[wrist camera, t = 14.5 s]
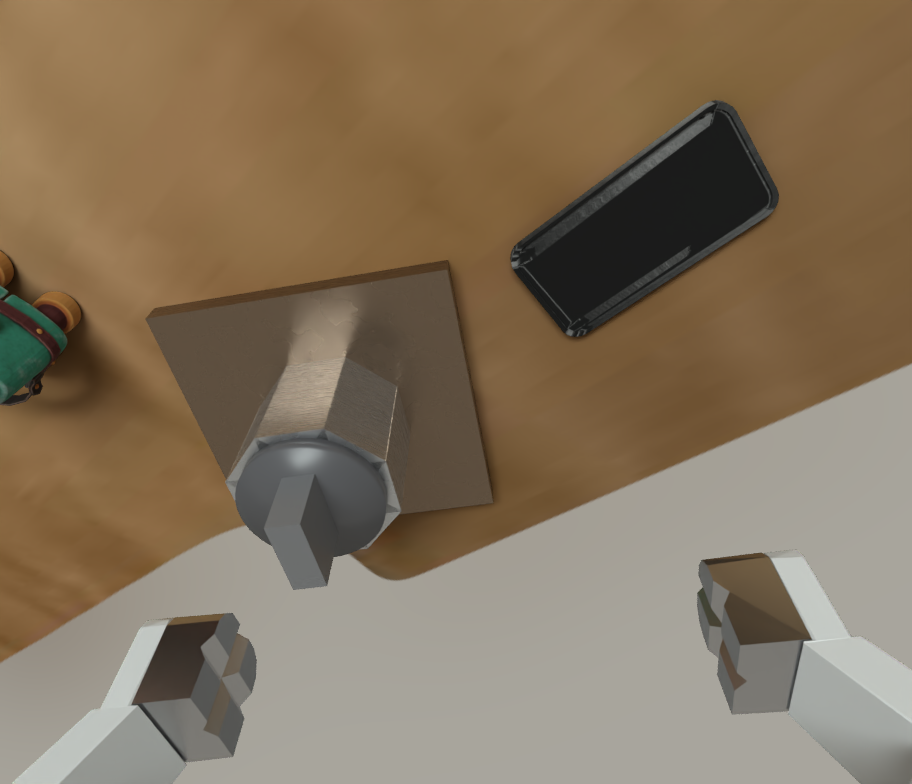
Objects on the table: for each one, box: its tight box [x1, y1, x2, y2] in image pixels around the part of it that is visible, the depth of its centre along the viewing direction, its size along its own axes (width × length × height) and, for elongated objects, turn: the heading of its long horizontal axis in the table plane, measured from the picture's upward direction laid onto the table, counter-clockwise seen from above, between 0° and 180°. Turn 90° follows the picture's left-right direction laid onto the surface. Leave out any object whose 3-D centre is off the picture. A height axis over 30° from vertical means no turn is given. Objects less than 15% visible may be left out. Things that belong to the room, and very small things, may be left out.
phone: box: [511, 100, 779, 337], centre depth 39 cm, size 8×1×15 cm
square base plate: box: [146, 260, 493, 549], centre depth 43 cm, size 20×20×10 cm
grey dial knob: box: [235, 438, 387, 590], centre depth 38 cm, size 9×9×7 cm
